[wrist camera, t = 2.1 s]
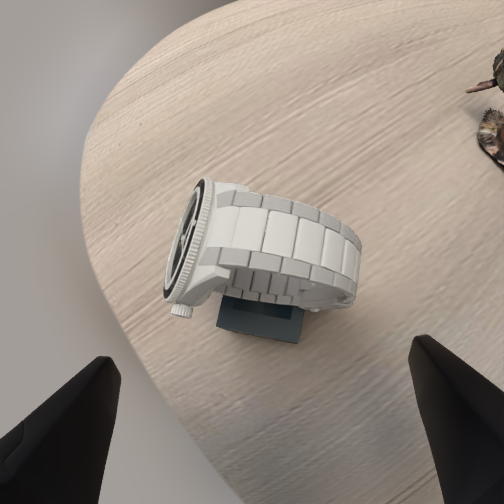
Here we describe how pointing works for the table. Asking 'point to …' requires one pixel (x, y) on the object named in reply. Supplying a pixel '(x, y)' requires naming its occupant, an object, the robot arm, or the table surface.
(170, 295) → the watch
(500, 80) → the plant with pod
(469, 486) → the robot arm
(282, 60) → the table surface
